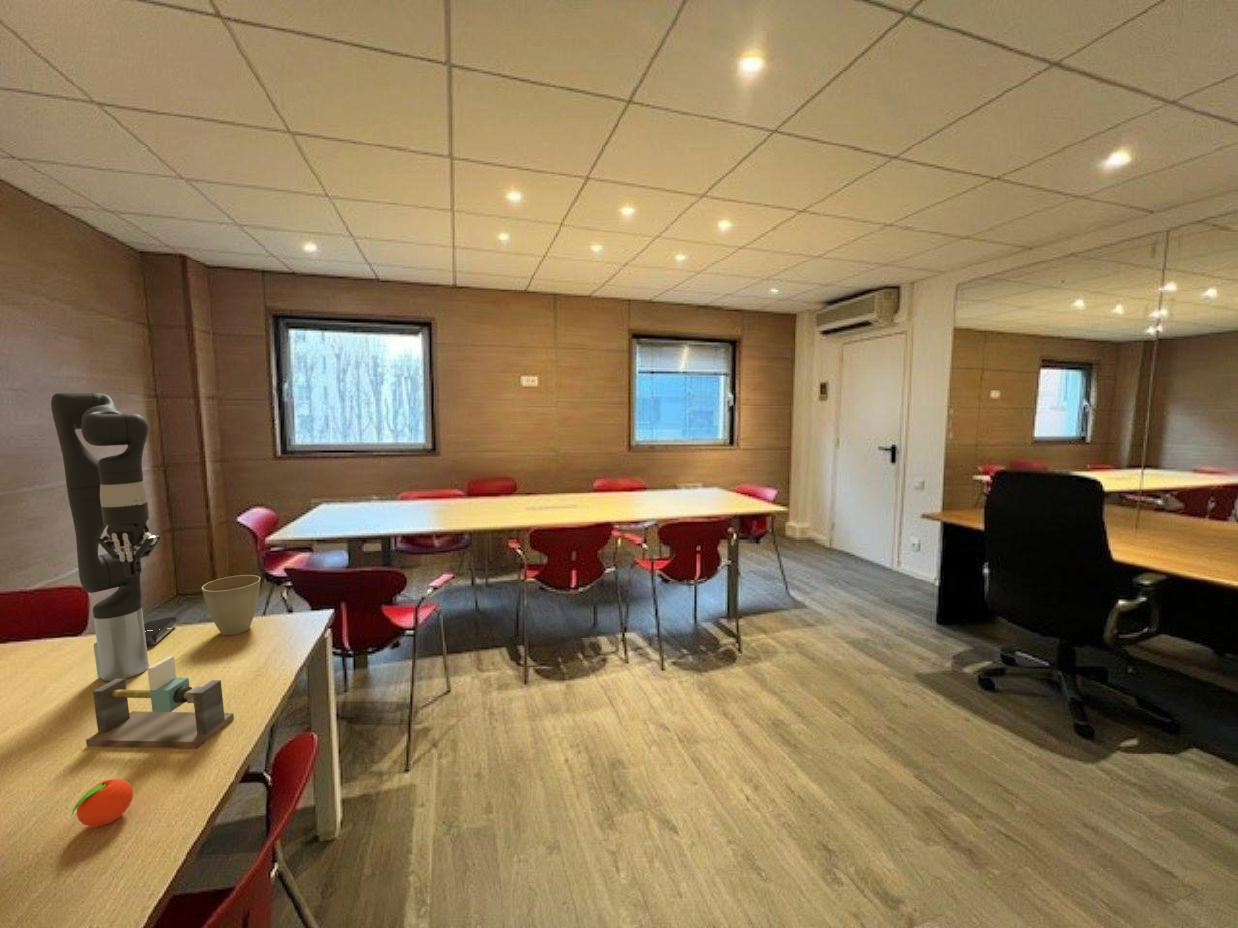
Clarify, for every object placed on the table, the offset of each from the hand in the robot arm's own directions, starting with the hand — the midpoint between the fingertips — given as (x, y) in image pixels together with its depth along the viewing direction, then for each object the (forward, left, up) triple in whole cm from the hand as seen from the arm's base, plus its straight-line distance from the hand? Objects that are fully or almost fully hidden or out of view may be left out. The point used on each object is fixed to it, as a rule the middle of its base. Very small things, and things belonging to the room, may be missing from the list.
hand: (133, 576), depth 117 cm
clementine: (+23, -32, -33) cm, 52 cm away
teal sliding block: (+14, -8, -27) cm, 31 cm away
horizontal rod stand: (+11, -8, -33) cm, 36 cm away
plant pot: (-12, +42, -33) cm, 55 cm away
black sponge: (-34, +36, -34) cm, 60 cm away
